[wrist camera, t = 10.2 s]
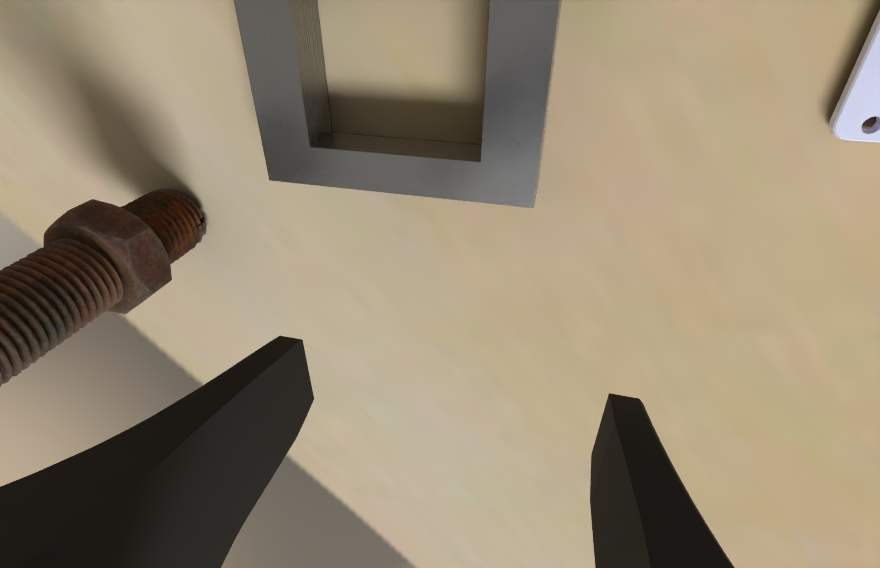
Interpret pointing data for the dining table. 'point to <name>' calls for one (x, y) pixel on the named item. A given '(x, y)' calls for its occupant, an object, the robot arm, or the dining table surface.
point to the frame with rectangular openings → (398, 159)
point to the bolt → (91, 271)
